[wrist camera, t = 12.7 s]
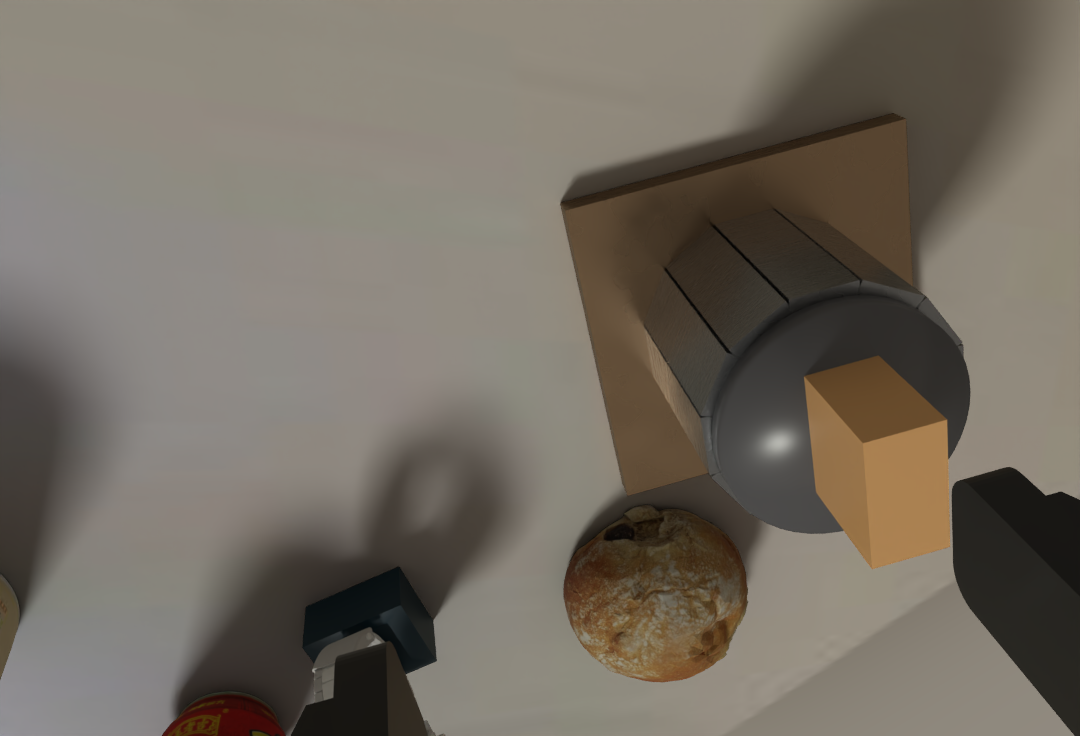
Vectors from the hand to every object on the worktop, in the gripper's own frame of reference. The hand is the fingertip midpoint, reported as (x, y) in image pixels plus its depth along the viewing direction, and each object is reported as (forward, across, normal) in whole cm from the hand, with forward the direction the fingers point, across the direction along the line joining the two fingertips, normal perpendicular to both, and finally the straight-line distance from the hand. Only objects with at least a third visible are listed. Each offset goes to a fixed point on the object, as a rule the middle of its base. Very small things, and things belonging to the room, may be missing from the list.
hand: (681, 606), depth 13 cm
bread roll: (+32, -4, +28) cm, 43 cm away
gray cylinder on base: (+32, -11, +13) cm, 36 cm away
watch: (+32, +12, +25) cm, 43 cm away
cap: (+23, -11, +13) cm, 29 cm away
